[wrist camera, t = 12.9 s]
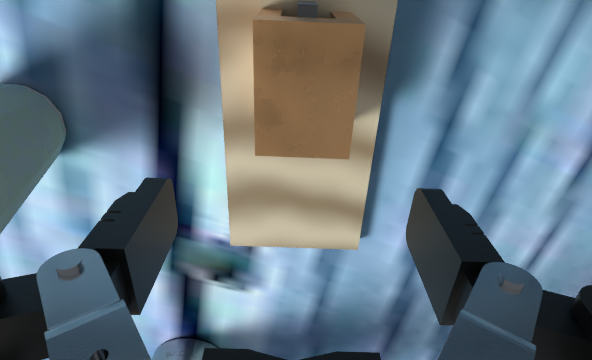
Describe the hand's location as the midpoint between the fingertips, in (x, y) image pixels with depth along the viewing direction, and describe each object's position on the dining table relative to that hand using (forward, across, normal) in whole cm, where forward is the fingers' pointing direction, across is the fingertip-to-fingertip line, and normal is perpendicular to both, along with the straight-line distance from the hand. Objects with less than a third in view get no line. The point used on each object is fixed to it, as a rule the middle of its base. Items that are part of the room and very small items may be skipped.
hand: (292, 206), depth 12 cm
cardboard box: (+17, -1, -1) cm, 17 cm away
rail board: (+18, -1, +5) cm, 19 cm away
